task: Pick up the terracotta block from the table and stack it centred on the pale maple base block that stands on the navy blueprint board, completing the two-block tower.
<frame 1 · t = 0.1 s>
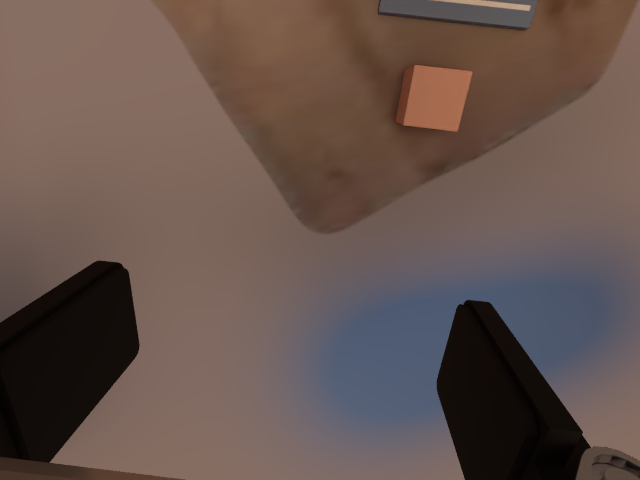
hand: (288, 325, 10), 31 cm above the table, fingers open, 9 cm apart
terracotta block: (423, 99, 36), on the table
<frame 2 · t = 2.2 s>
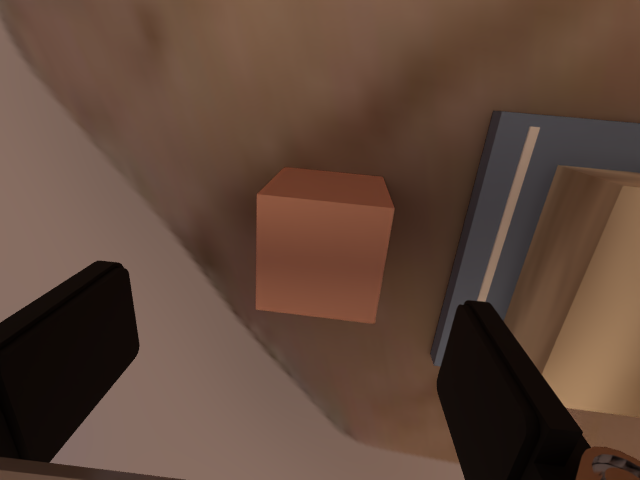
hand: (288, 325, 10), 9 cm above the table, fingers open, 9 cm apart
maple base block: (626, 276, 17), resting on blueprint board
terracotta block: (328, 217, 18), on the table
blueprint board: (612, 267, 18), on the table
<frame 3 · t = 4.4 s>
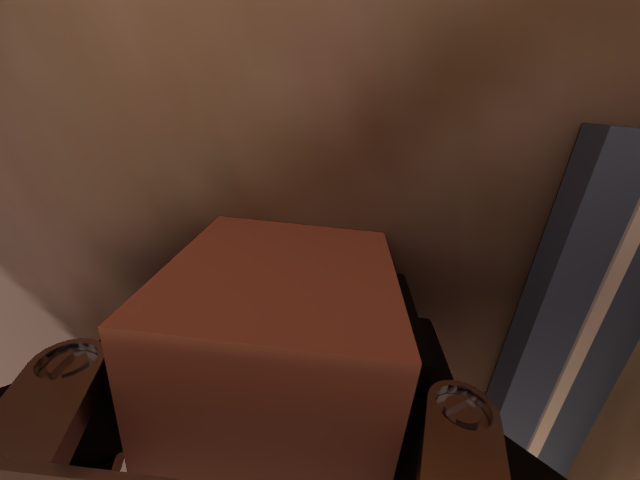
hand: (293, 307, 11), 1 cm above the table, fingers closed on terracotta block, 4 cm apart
terracotta block: (296, 295, 11), on the table, touching gripper
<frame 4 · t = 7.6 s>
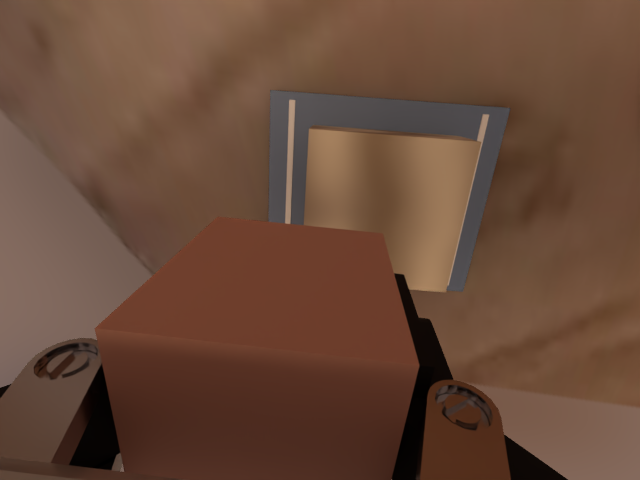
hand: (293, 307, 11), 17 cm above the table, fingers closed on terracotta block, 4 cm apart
maple base block: (376, 200, 25), resting on blueprint board
terracotta block: (295, 296, 11), point 16 cm above the table, touching gripper
blueprint board: (374, 197, 26), on the table
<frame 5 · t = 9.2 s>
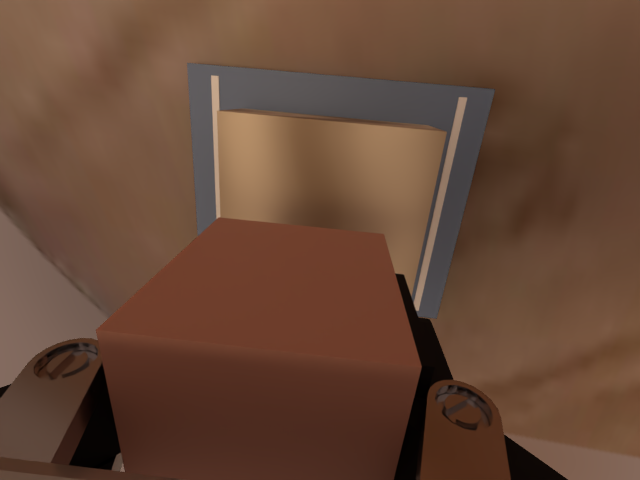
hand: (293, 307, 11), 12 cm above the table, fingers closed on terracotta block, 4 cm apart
maple base block: (326, 205, 20), resting on blueprint board
terracotta block: (296, 296, 11), point 11 cm above the table, touching gripper
blueprint board: (327, 200, 21), on the table
when the fingers open (7 cm above the table, at t = 10.8 s): terracotta block drops 1 cm, resting on maple base block.
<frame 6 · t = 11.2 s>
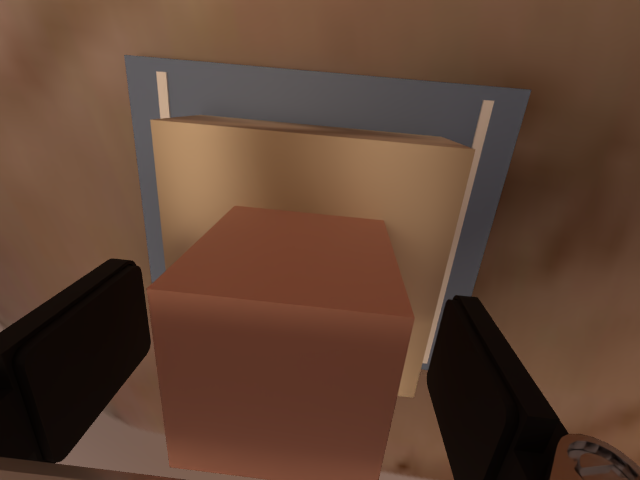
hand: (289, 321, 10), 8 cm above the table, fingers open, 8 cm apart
maple base block: (310, 237, 16), resting on blueprint board
terracotta block: (303, 278, 12), point 5 cm above the table, touching maple base block
blueprint board: (312, 229, 17), on the table
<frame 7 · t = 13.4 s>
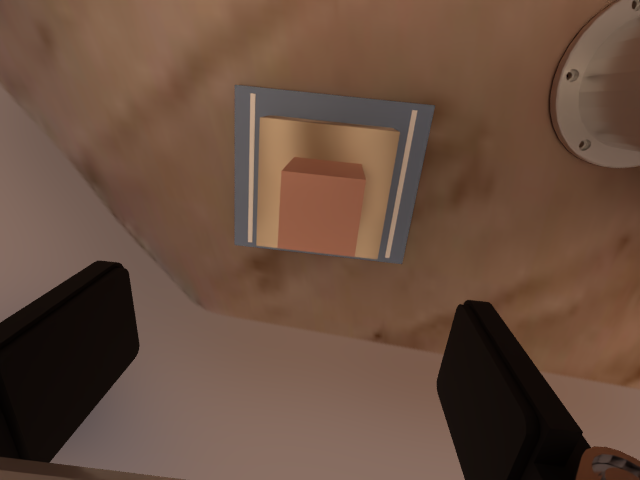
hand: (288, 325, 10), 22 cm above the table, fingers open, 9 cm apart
maple base block: (325, 181, 30), resting on blueprint board
terracotta block: (324, 193, 26), point 5 cm above the table, touching maple base block
blueprint board: (325, 179, 31), on the table
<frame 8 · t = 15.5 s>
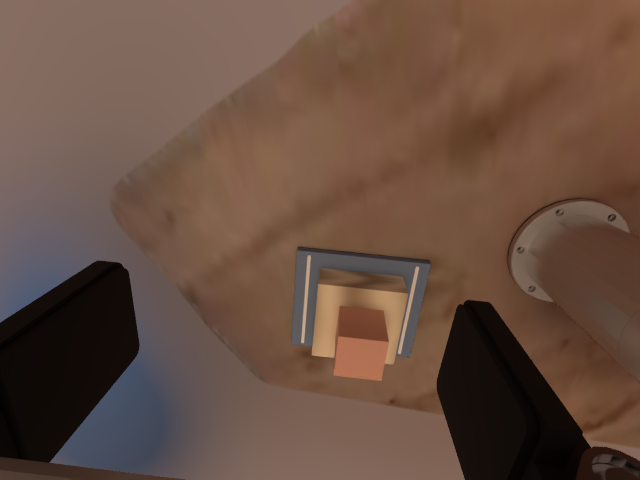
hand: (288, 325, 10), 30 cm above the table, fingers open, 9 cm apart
maple base block: (356, 306, 44), resting on blueprint board
terracotta block: (358, 326, 40), point 5 cm above the table, touching maple base block
blueprint board: (356, 302, 44), on the table
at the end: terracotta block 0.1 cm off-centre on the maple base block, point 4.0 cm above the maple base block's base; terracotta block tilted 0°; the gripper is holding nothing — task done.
